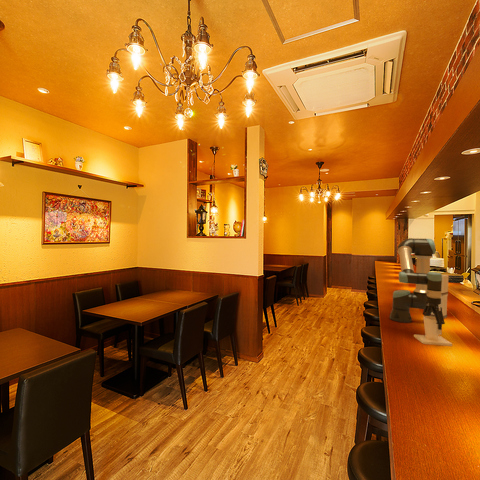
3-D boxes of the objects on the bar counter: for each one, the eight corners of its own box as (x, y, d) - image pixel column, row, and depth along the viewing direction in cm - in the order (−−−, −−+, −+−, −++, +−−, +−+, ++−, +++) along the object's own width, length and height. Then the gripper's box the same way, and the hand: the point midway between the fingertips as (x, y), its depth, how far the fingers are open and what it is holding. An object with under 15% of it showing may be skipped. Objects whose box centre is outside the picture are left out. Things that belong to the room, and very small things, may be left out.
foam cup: (444, 342, 165) (444, 320, 165) (427, 340, 167) (427, 319, 167) (436, 336, 174) (436, 316, 174) (420, 335, 176) (420, 315, 176)
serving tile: (413, 336, 177) (413, 334, 177) (440, 338, 175) (440, 336, 175) (423, 343, 165) (423, 341, 165) (452, 346, 163) (452, 343, 163)
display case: (447, 317, 224) (448, 275, 223) (441, 319, 218) (443, 276, 217) (431, 313, 233) (432, 273, 233) (425, 315, 227) (427, 274, 227)
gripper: (417, 292, 182) (416, 323, 183) (438, 301, 158) (437, 337, 158) (429, 293, 181) (428, 324, 182) (452, 302, 157) (451, 338, 157)
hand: (432, 330), depth 170 cm, fingers open, 13 cm apart
